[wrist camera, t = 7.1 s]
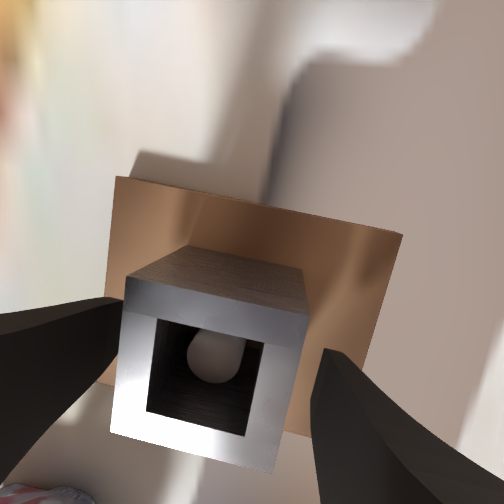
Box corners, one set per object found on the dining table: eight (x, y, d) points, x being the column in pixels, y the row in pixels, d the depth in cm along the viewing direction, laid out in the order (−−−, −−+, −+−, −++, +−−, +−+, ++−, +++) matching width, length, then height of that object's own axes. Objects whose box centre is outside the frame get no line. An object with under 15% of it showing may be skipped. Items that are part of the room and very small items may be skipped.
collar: (301, 269, 13) (310, 316, 8) (277, 374, 14) (272, 474, 9) (186, 245, 13) (126, 275, 8) (171, 349, 14) (110, 431, 9)
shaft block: (394, 231, 13) (449, 251, 8) (335, 428, 15) (355, 526, 11) (128, 177, 14) (53, 169, 9) (107, 370, 16) (38, 437, 11)
